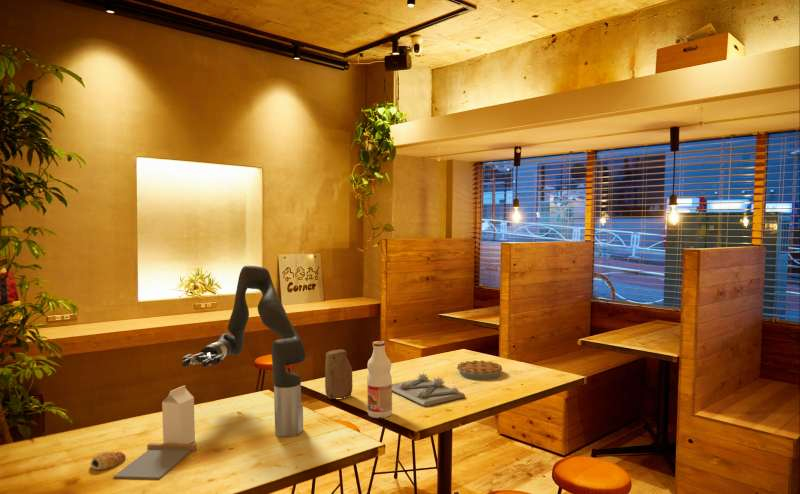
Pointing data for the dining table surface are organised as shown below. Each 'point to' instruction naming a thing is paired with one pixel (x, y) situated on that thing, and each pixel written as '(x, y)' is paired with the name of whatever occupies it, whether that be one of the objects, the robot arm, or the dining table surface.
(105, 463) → the pastry
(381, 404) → the fruit juice
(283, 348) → the robot arm
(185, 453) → the grey flat board
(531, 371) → the dining table surface
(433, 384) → the decorative plate
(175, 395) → the milk carton
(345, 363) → the block
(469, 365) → the pie
